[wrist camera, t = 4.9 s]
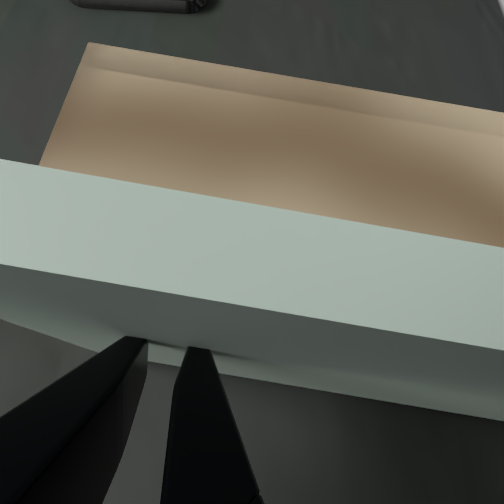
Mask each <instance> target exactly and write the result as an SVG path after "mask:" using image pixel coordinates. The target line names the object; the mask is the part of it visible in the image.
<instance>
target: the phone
mask: <svg viewBox="0 0 504 504" xmlns="http://www.w3.org/2000/svg"><path fill="white" fill-rule="evenodd" d="M70 2H72V3H73V4H74V5H76V6H78V7H82V8H92V9H110V10H128V11H146V12H165V13H183V14H189V13H195V12H198V11H200V10H201V9H203V8H204V6H205V5H206V2H207V0H70Z"/></svg>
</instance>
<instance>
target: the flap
mask: <svg viewBox="0 0 504 504" xmlns="http://www.w3.org/2000/svg"><path fill="white" fill-rule="evenodd" d="M0 319H2V320H5V321H8V322H11V323H14V324H17V325H20V326H22V327H25V328H28V329H31V330H34V331H37V332H40V333H43V334H46V335H49V336H52V337H55V338H57V339H60V340H63V341H66V342H69V343H72V344H75V345H78V346H81V347H84V348H87V349H90V350H92V351H95V352H98V353H99V352H101V351H102V350H104V349H105V348H107V347H108V346H110V345H111V344H113V343H114V342H116V341H117V340H119V339H121V338H122V337H124V336H131V337H137V338H143V339H147V340H148V361H150V362H156V363H162V364H168V365H174V366H180V367H181V364H182V361H183V358H184V356H185V353H186V350H187V347H188V346H192V347H198V348H204V349H209V350H211V352H212V355H213V358H214V361H215V364H216V367H217V370H218V372H219V373H221V374H227V375H233V376H239V377H245V378H251V379H257V380H263V381H269V382H274V383H280V384H286V385H292V386H298V387H304V388H310V389H316V390H322V391H328V392H334V393H340V394H346V395H351V396H357V397H363V398H369V399H375V400H381V401H387V402H393V403H399V404H405V405H411V406H417V407H423V408H428V409H434V410H440V411H446V412H452V413H458V414H464V415H470V416H476V417H482V418H488V419H494V420H500V421H504V248H502V247H497V246H491V245H485V244H480V243H474V242H468V241H462V240H457V239H451V238H445V237H440V236H434V235H428V234H423V233H417V232H411V231H406V230H400V229H394V228H389V227H383V226H377V225H372V224H366V223H360V222H355V221H349V220H343V219H337V218H332V217H326V216H320V215H315V214H309V213H303V212H298V211H292V210H286V209H281V208H275V207H269V206H264V205H258V204H252V203H247V202H241V201H235V200H230V199H224V198H218V197H213V196H207V195H201V194H195V193H190V192H184V191H178V190H173V189H167V188H161V187H156V186H150V185H144V184H139V183H133V182H127V181H122V180H116V179H110V178H105V177H99V176H93V175H88V174H82V173H76V172H71V171H65V170H59V169H53V168H48V167H42V166H36V165H31V164H25V163H19V162H14V161H8V160H2V159H0Z"/></svg>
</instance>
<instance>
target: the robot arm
mask: <svg viewBox="0 0 504 504" xmlns="http://www.w3.org/2000/svg"><path fill="white" fill-rule="evenodd" d="M147 364H148V340H147V339H143V338H137V337H131V336H124V337H122V338H121V339H119V340H117V341H116V342H114V343H113V344H111V345H110V346H108V347H107V348H105V349H104V350H102V351H101V352H99V353H98V354H96V355H95V356H93V357H92V358H90V359H88V360H87V361H85V362H84V363H82V364H81V365H79V366H78V367H76V368H75V369H73V370H72V371H70V372H69V373H67V374H66V375H64V376H62V377H61V378H59V379H58V380H56V381H55V382H53V383H52V384H50V385H49V386H47V387H46V388H44V389H43V390H41V391H40V392H38V393H37V394H35V395H33V396H32V397H30V398H29V399H27V400H26V401H24V402H23V403H21V404H20V405H18V406H17V407H15V408H14V409H12V410H11V411H9V412H7V413H6V414H4V415H3V416H1V417H0V504H102V503H103V501H104V498H105V496H106V494H107V491H108V489H109V487H110V484H111V482H112V480H113V477H114V475H115V473H116V470H117V468H118V465H119V463H120V460H121V458H122V455H123V452H124V449H125V446H126V443H127V439H128V436H129V433H130V430H131V426H132V423H133V420H134V416H135V413H136V410H137V406H138V403H139V400H140V396H141V393H142V390H143V387H144V383H145V379H146V375H147ZM160 504H264V501H263V499H262V496H261V495H259V488H258V485H257V482H256V479H255V476H254V473H253V470H252V468H251V465H250V462H249V459H248V456H247V453H246V450H245V447H244V445H243V442H242V439H241V436H240V433H239V430H238V427H237V424H236V421H235V419H234V416H233V413H232V410H231V407H230V404H229V401H228V398H227V396H226V393H225V390H224V387H223V384H222V381H221V378H220V375H219V372H218V370H217V367H216V364H215V361H214V358H213V355H212V352H211V350H209V349H204V348H198V347H192V346H188V347H187V350H186V353H185V356H184V358H183V361H182V364H181V367H180V370H179V373H178V375H177V378H176V382H175V385H174V390H173V396H172V404H171V413H170V422H169V430H168V439H167V448H166V457H165V465H164V474H163V483H162V491H161V500H160Z"/></svg>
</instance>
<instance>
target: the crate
mask: <svg viewBox="0 0 504 504" xmlns="http://www.w3.org/2000/svg"><path fill="white" fill-rule="evenodd" d="M39 166H42V167H48V168H53V169H59V170H65V171H71V172H76V173H82V174H88V175H93V176H99V177H105V178H110V179H116V180H122V181H127V182H133V183H139V184H144V185H150V186H156V187H161V188H167V189H173V190H178V191H184V192H190V193H195V194H201V195H207V196H213V197H218V198H224V199H230V200H235V201H241V202H247V203H252V204H258V205H264V206H269V207H275V208H281V209H286V210H292V211H298V212H303V213H309V214H315V215H320V216H326V217H332V218H337V219H343V220H349V221H355V222H360V223H366V224H372V225H377V226H383V227H389V228H394V229H400V230H406V231H411V232H417V233H423V234H428V235H434V236H440V237H445V238H451V239H457V240H462V241H468V242H474V243H480V244H485V245H491V246H497V247H502V248H504V113H501V112H495V111H490V110H484V109H478V108H472V107H466V106H460V105H454V104H448V103H443V102H437V101H431V100H425V99H419V98H413V97H407V96H401V95H395V94H390V93H384V92H378V91H372V90H366V89H360V88H354V87H348V86H343V85H337V84H331V83H325V82H319V81H313V80H307V79H301V78H296V77H290V76H284V75H278V74H272V73H266V72H260V71H254V70H249V69H243V68H237V67H231V66H225V65H219V64H213V63H207V62H201V61H196V60H190V59H184V58H178V57H172V56H166V55H160V54H154V53H149V52H143V51H137V50H131V49H125V48H119V47H113V46H107V45H102V44H96V43H90V42H88V45H87V47H86V50H85V52H84V55H83V57H82V60H81V62H80V65H79V67H78V69H77V72H76V74H75V77H74V79H73V82H72V84H71V87H70V89H69V92H68V94H67V97H66V99H65V102H64V104H63V107H62V109H61V112H60V114H59V117H58V119H57V121H56V124H55V126H54V129H53V131H52V134H51V136H50V139H49V141H48V144H47V146H46V149H45V151H44V154H43V156H42V159H41V161H40V164H39Z"/></svg>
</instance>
